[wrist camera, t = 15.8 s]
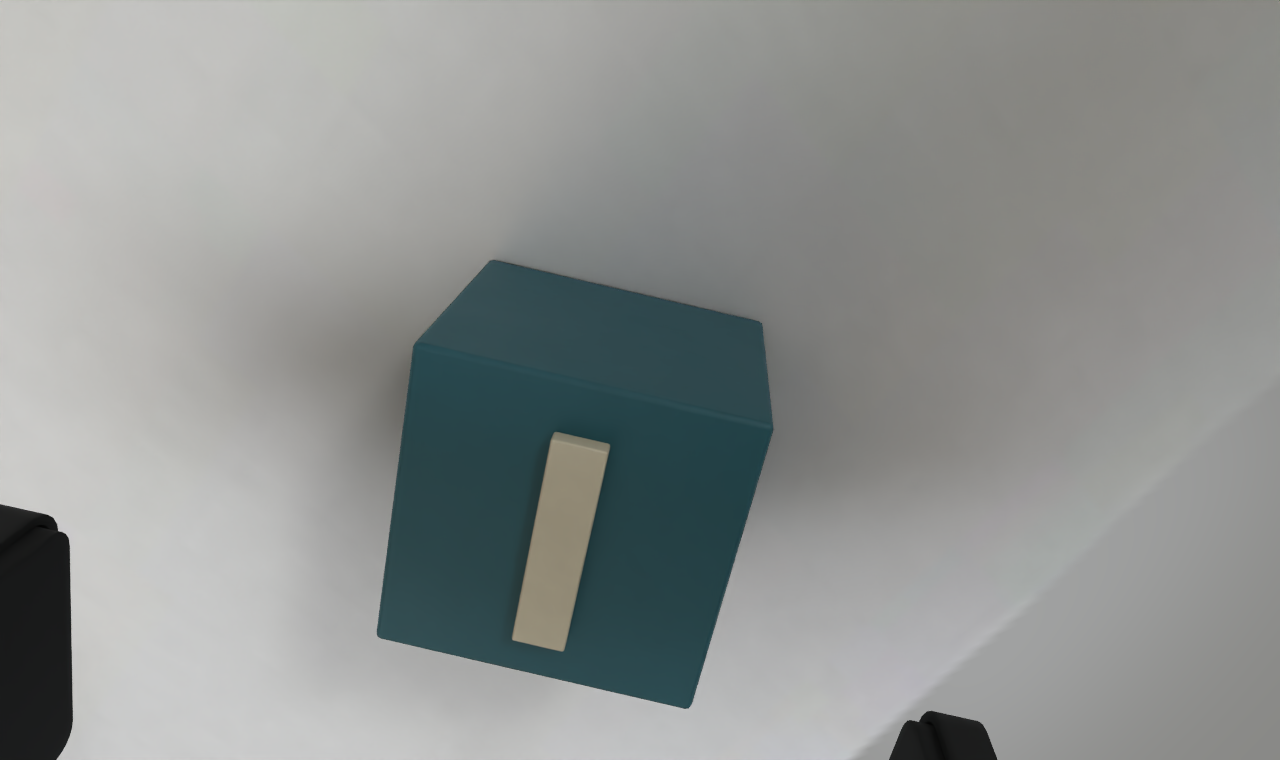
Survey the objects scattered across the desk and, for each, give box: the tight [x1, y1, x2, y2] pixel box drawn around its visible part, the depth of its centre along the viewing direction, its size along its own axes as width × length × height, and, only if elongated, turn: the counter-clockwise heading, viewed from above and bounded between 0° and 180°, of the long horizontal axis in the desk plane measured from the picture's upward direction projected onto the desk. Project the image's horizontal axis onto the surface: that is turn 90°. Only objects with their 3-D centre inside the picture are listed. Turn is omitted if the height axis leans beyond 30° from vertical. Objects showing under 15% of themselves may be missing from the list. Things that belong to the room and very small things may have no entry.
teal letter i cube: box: [377, 260, 773, 709], centre depth 16 cm, size 5×5×5 cm
